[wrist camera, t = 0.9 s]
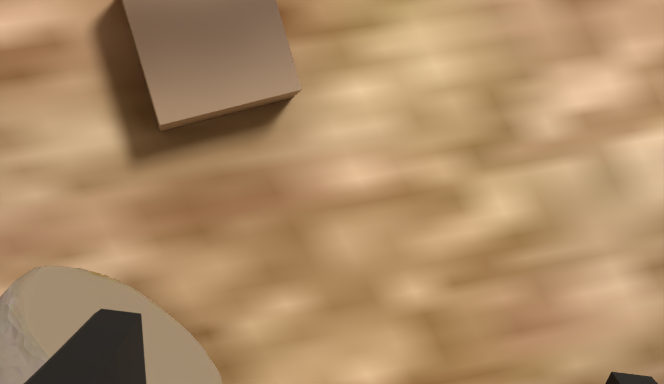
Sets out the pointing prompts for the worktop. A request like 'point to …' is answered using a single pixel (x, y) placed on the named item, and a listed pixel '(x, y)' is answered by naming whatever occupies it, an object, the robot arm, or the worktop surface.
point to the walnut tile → (210, 57)
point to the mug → (75, 310)
